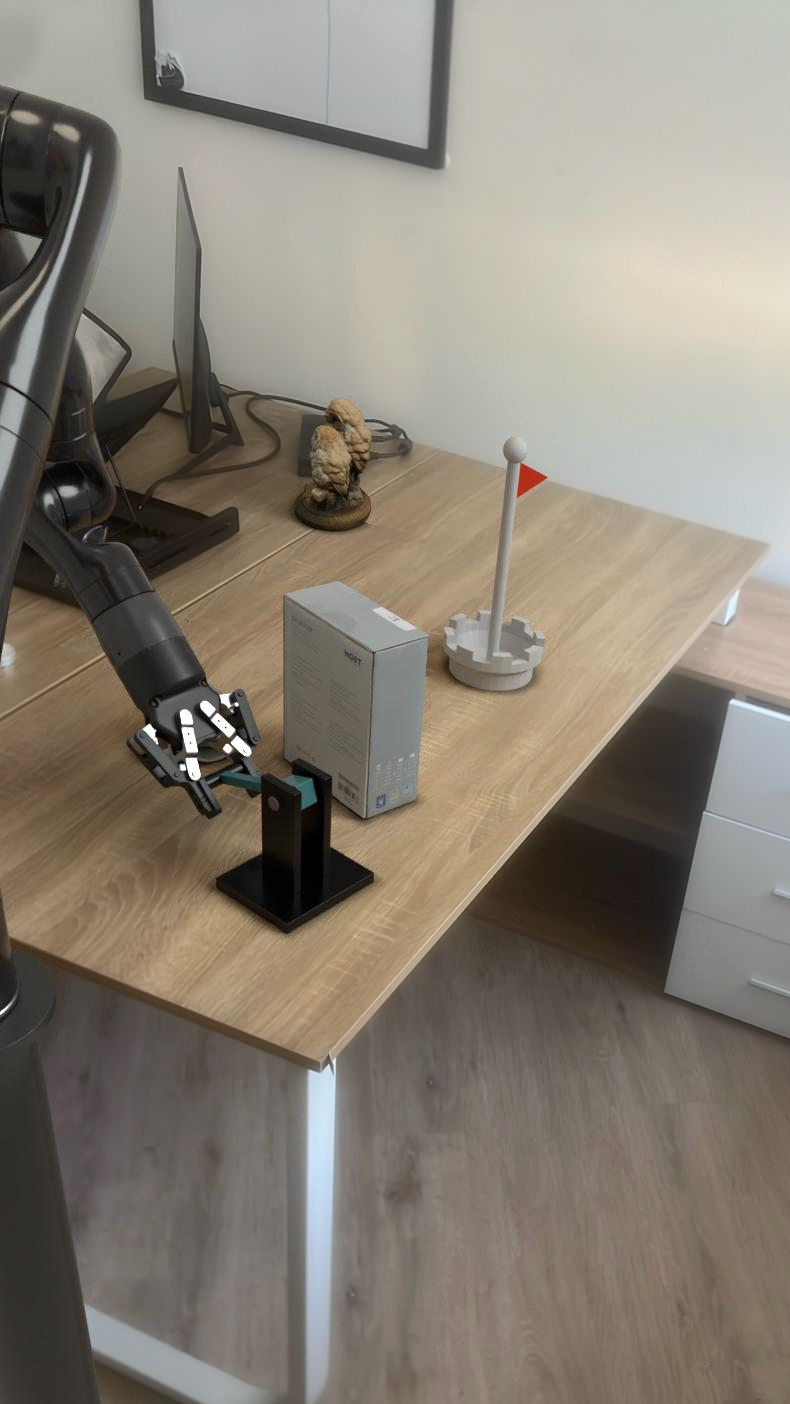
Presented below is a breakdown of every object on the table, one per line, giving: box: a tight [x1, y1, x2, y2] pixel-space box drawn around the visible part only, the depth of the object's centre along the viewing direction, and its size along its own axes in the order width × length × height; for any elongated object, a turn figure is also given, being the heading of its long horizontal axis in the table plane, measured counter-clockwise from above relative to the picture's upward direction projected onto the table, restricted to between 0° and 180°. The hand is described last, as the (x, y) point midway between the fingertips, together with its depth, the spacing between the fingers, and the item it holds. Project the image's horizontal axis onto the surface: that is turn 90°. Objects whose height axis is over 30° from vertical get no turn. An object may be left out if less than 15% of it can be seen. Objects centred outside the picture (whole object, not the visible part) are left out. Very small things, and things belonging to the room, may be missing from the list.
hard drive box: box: [282, 580, 430, 819], centre depth 137 cm, size 16×8×20 cm, turn 44°
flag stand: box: [442, 436, 549, 692], centre depth 158 cm, size 13×13×30 cm
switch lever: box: [200, 761, 317, 809], centre depth 123 cm, size 13×5×2 cm, turn 53°
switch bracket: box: [215, 758, 375, 934], centre depth 123 cm, size 10×12×13 cm
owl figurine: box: [294, 397, 373, 532], centre depth 196 cm, size 18×12×17 cm, turn 0°
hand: (237, 804), depth 127 cm, fingers closed on switch lever, 5 cm apart
